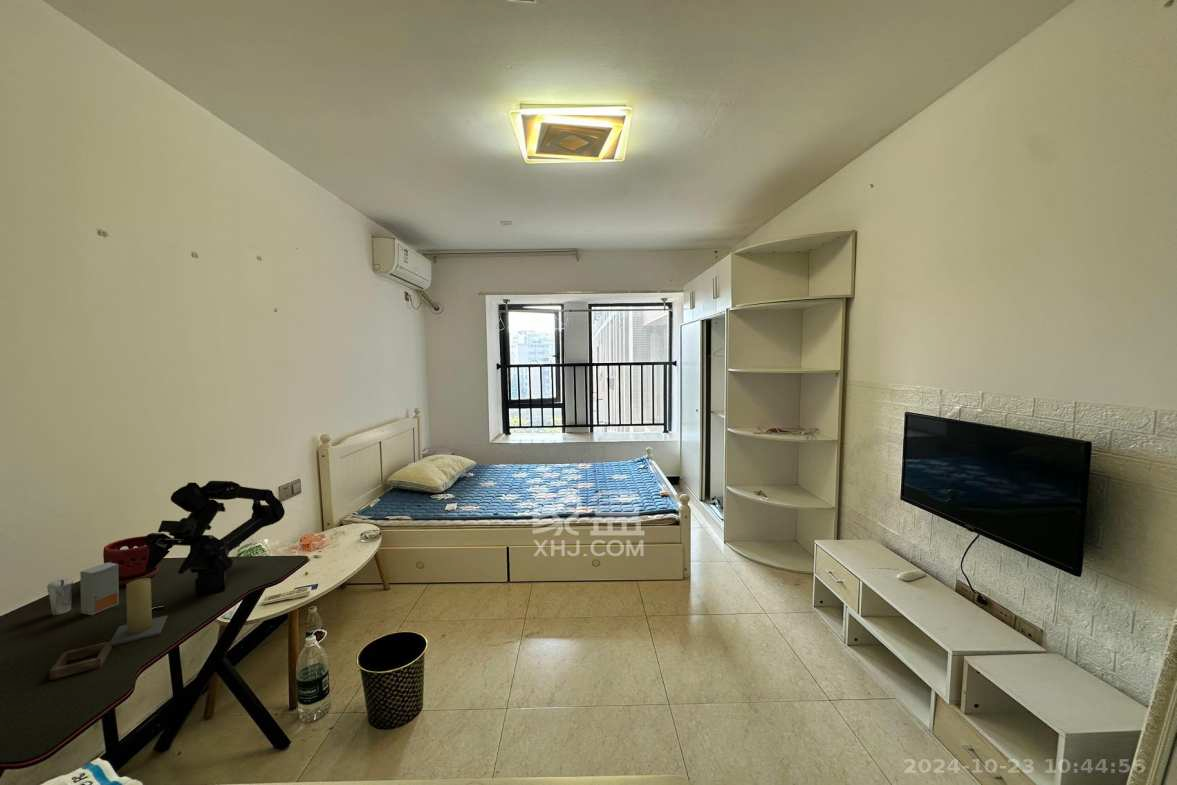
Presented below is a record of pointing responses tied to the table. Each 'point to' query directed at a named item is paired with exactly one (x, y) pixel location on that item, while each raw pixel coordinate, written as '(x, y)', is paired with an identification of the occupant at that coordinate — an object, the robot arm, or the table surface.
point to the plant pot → (129, 559)
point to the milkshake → (60, 595)
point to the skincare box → (99, 588)
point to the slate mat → (124, 637)
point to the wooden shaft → (139, 605)
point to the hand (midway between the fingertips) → (163, 572)
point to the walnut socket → (63, 670)
